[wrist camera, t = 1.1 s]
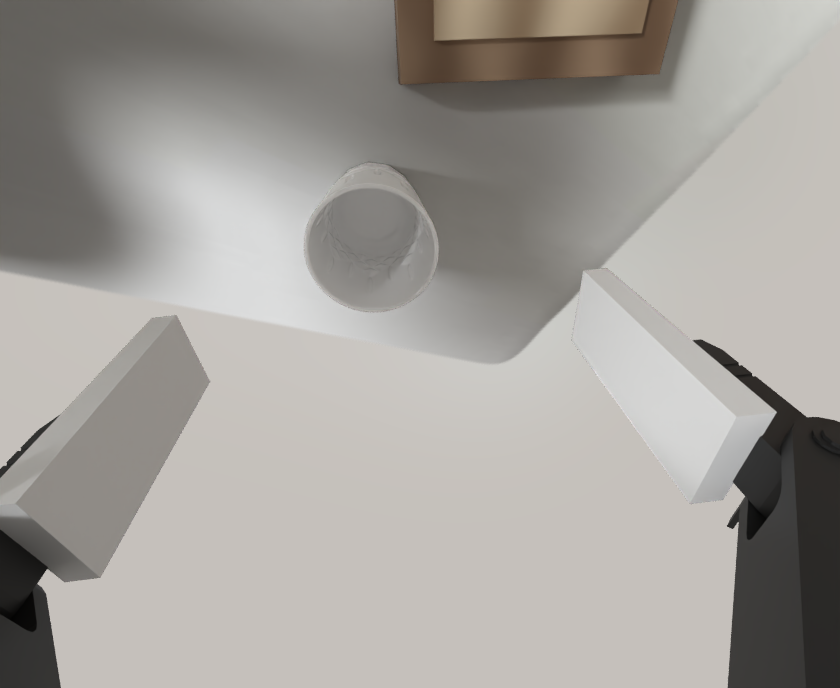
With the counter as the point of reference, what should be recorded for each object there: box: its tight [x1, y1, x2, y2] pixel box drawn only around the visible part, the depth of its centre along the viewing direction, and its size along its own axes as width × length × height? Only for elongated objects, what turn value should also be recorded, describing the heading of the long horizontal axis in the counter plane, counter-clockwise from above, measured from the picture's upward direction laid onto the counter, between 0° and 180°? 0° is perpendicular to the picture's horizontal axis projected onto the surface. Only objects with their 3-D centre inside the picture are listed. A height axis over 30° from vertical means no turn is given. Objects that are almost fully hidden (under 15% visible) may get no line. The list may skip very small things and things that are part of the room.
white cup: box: [304, 162, 439, 312], centre depth 27 cm, size 8×8×10 cm
